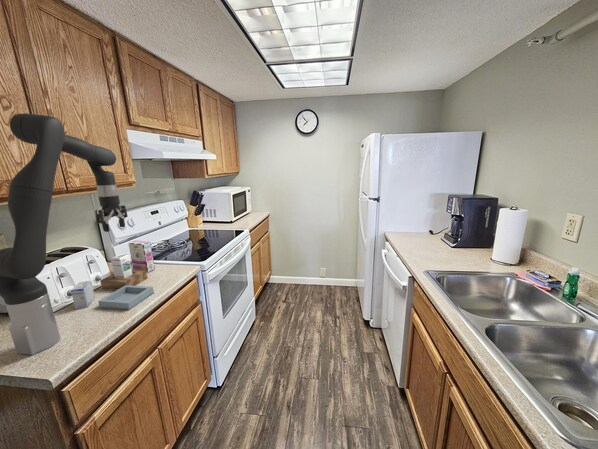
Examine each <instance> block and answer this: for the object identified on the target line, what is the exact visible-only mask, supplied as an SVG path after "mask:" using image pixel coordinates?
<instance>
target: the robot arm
mask: <svg viewBox="0 0 598 449" xmlns="http://www.w3.org/2000/svg"><path fill="white" fill-rule="evenodd" d="M9 129H10V131H11V133H12V134H13V136H15V137H16V138H17V139H18V140H19V141H22V142H24V143H26V144H30V145H36V148H35V152H34V153H33V156H32V157H31V159H30V160H29V161H28V162H27V163H26V164H25V165H24V166H23V167H22V168H21V169H20V170H19V171H18V172H17V173H16V174H15V175H14V176H13V178H12V179H11V180H10V184H9V188H8V189H9V190H8V194H7V207H8V211H9V214H10V216H11V219H12V222H13V224H14V225H13V226H14V229H15V231H14V234H15V235H14V241H13V246H12V247H4V248H1V249H0V297H1V298H2V299H3V301H4V304H5V307H6V311H7V313H8V317H9V318H10V323H11V325H9V327H8V330H9V333H10V337H11V339H12V342H13V345H14V348H15V351H16V354H18V355H19V354H21V355H29V356H33V355H35V354H37V353H40V352H43V351H45V350H47V349H49V348H50V347H53V346H54V345H55V344H57V343H58V342H59V341H60V340H61V335H60V331H59V328H58V324H57V320H56V316H55V313H54V310H53V305H52V303H51V299H50V294H49V292H48V288H47V285H46V284H45V283H44V282H43V281H41V280H39V279H38V278H37V276H38V275H39V274H41V272H43V270H44V268H45V266H46V262H47V261H46V260H47V231H48V224H49V218H50V217H49V216H50V210H51V204H52V200H53V192H54V185H55V184H54V183H55V178H56V172H57V167H58V164H59V159H60V156H61V153H62V152H63V153H66V154H68V155H71V156H74V157H77V158H79V159H81V160H84V161H86V163H87V164H88V166H89V167H90V169H91V172H92V173H93V176H94V178H95V183H96V192H97V197H98V202H99V206H100V207H101V209H95V210H94V212H95V213H94V214H95V219H96V223H97V224H101V226H102V230H103V232H105V233H108V232H110V231H111V229H110V225H109V221H110V220H111V219H112V218H114V217H115V218H118V223H119V227H120V228H125V227H126V222H125V219H126V218H128V213H127V207H126V205H122V204H121V200H120V195H119V191H118V186H117V183H116V179H115V174H114V172H112V171H107V170H104V169H103V167H109V166H110V167H112V166H114V165H115V163H116V162H117V156H116V155H115V153H114V152H113V151H112V150H110V149H109V148H105V147H102V146H98V145H94V144H92V143H90V142H88V141H86V140H84V139H81V138H78V137H76V136H71V135H68V134H66V131H65V127H64V125H63V123H62V122H61V120H60V119H59V118H57V117H54V116H51V115H46V114H45V115H44V114H43V115H42V114H35V113H27V112H26V113H17V114H14V115H13V116H12V117H11V118H10V121H9Z"/></svg>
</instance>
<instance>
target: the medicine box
mask: <svg viewBox="0 0 598 449" xmlns="http://www.w3.org/2000/svg"><path fill="white" fill-rule="evenodd" d="M70 292H71V296H72V297H71V298H72V302H73V306H74V309H75V310H78V309H80V310H81V309H85V308H88V307H89V306H90V305H91V304H92V303H93V301H94V300H95V298H96V297H95V292H94V286H93V282H92V280H88V281H86V280H85V281H80V282H78V283H77V284H76V285H75V286H74V287H73V288H72V289H71V290H70Z"/></svg>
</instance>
